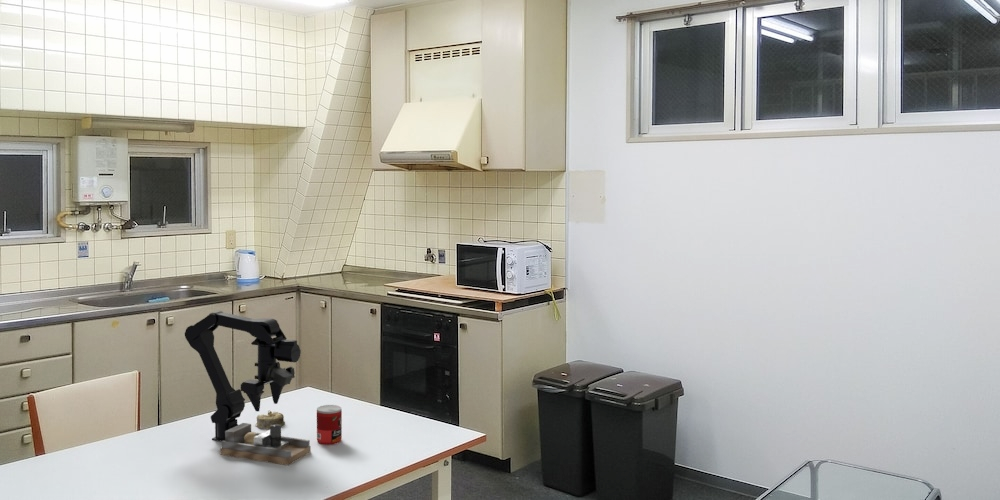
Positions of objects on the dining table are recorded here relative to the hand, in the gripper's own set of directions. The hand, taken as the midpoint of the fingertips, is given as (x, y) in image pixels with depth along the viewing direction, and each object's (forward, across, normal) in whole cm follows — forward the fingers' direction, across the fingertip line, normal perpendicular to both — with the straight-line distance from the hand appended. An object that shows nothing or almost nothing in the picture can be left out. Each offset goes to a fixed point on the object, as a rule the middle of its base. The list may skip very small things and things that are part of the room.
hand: (266, 407), depth 253 cm
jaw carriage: (+9, -8, -8) cm, 14 cm away
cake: (+12, +16, +11) cm, 23 cm away
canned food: (+12, +10, -17) cm, 23 cm away
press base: (+12, -8, -6) cm, 15 cm away
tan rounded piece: (+10, -8, 0) cm, 13 cm away
